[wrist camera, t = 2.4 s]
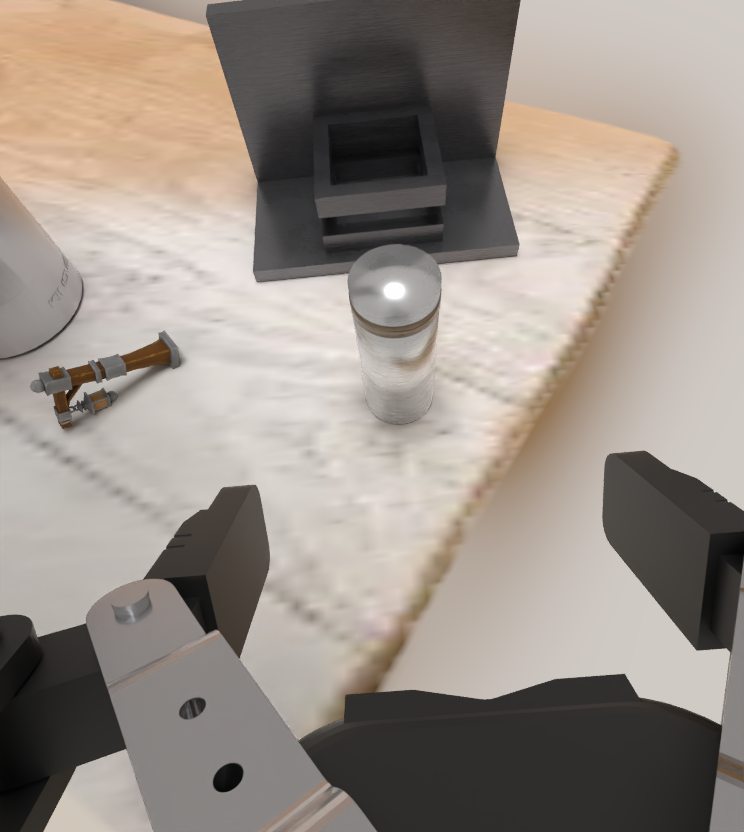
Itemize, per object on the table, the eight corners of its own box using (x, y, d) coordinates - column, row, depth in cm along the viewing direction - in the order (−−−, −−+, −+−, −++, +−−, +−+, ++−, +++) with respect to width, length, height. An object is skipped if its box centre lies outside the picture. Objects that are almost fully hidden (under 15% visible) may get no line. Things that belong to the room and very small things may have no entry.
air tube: (367, 427, 30) (349, 321, 21) (363, 369, 32) (345, 248, 23) (437, 421, 30) (448, 311, 21) (428, 363, 32) (435, 239, 23)
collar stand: (257, 281, 36) (190, 112, 25) (262, 167, 41) (209, -11, 30) (516, 255, 35) (562, 70, 24) (486, 143, 40) (513, -48, 30)
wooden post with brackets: (38, 421, 31) (20, 366, 27) (166, 378, 35) (163, 327, 32) (51, 441, 30) (33, 388, 27) (179, 395, 35) (178, 345, 31)
